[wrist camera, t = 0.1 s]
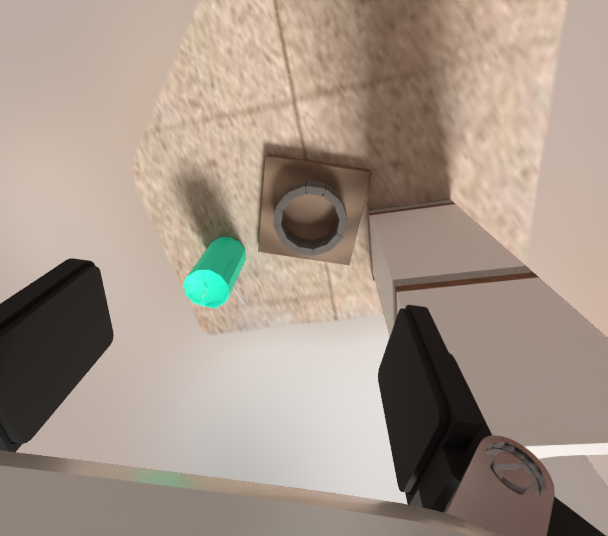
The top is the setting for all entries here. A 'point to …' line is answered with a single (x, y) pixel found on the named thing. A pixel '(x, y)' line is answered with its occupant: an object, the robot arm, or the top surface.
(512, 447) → the robot arm
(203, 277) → the candle
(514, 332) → the tall banded pillar
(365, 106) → the top surface
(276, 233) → the candle stand
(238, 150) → the top surface
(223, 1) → the top surface
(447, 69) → the top surface
